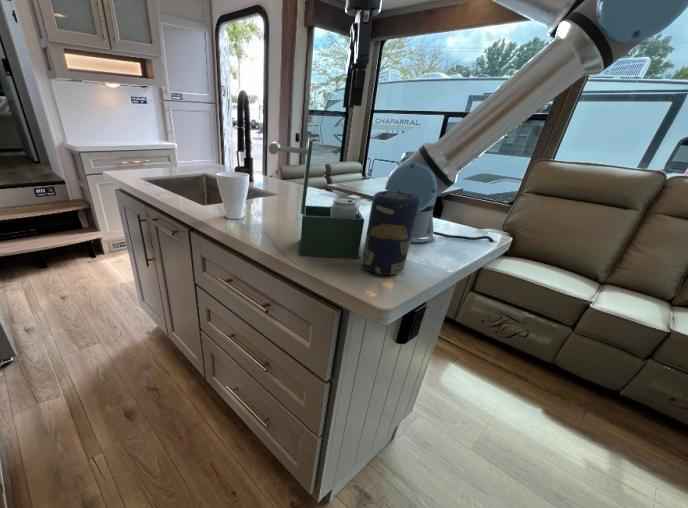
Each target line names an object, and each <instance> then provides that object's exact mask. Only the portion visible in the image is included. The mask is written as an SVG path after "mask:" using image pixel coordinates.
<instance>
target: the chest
mask: <svg viewBox="0 0 688 508" xmlns="http://www.w3.org/2000/svg"><path fill="white" fill-rule="evenodd" d="M330 215H331V206H325V205H324V206H323V205H307V204H305V212H304V214H301V227H300V243H299V244H300V245H299V256H307V257H308V256H309V257H324V258H325V257H326V258H328V257H329V258H344V259H359V254H360V249H361V243H362V238H363V237H362V236H363V231H364V225H365V218H364V217H363V215H362V213H361V212H360V210H359V208H358V207H357V213H356V218H341V217H330Z"/></svg>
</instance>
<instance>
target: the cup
mask: <svg viewBox="0 0 688 508" xmlns="http://www.w3.org/2000/svg"><path fill="white" fill-rule="evenodd" d="M215 177H216V183H217V187H218V191H219V195H220V197H221V198H220V199H221V201H222V205H223V208H224V209H223V210H224V214H225V218H226V219H230V220H240V219H242V218H244V216H245V206H246V201H247V197H248V193H249V185H250V174H249V173H248V172H247V173H246V172H240V171H223V172H218V173H216V174H215Z"/></svg>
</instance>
